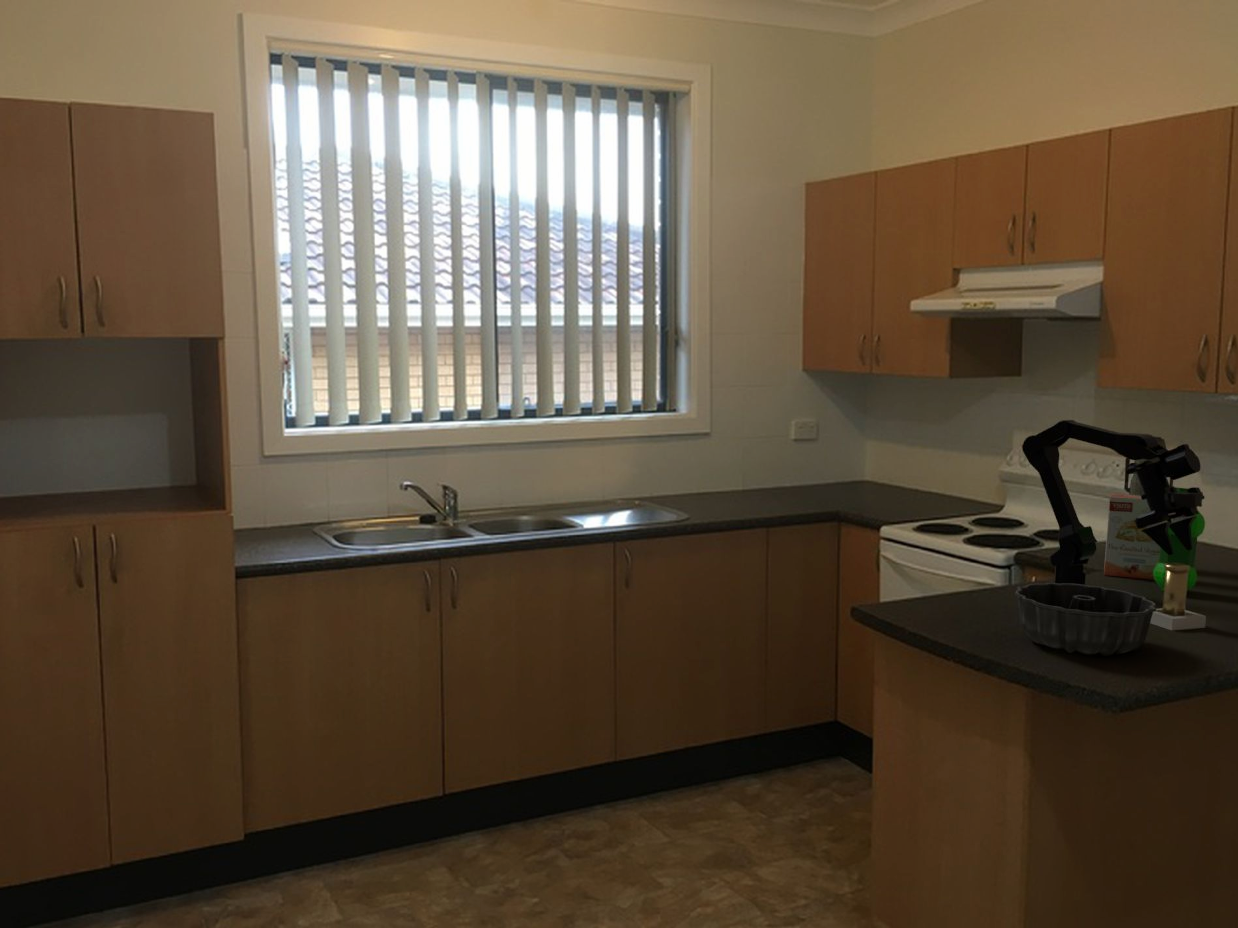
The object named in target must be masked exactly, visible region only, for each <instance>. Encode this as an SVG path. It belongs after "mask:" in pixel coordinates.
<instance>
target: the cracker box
mask: <svg viewBox="0 0 1238 928" xmlns="http://www.w3.org/2000/svg"><path fill="white" fill-rule="evenodd" d="M1148 512H1151V511H1150V509H1149V506H1148V503H1147V501H1146V499H1145V500H1142V498H1141V496H1137V495H1130V494H1120V493H1119V494H1118V493H1109V504H1108V514H1107V515H1108V516H1107V529H1106V538H1105V539H1106V542H1105V555H1104V567H1103V575H1104V576H1107V577H1108V576H1109V577H1110V576H1111V577H1121V578H1131V579H1139V580H1141V579H1142V580H1151V581H1155V580H1154V576H1153V570H1154V568H1155V566H1156V565H1157V563H1158V562H1159V555H1160V546H1159V545H1158V544H1157V543H1156V542H1154V541H1153V540H1152V539H1151V538H1150V537H1149V536H1148V535H1147V534H1146V533H1144V532H1142V530H1143V529H1147V527H1145V528H1141V529H1137V526H1136V523H1135V520H1136V518H1137V516H1140V515H1143V514H1146V513H1148Z"/></svg>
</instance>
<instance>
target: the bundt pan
mask: <svg viewBox="0 0 1238 928" xmlns="http://www.w3.org/2000/svg"><path fill="white" fill-rule="evenodd" d="M1014 595H1015V596H1016V597H1017V605H1018V613H1019V623H1020V626H1021V629H1022V630H1023V632H1024V633H1025V634H1026V635H1027V636H1029V638H1030V639H1031V640H1032V641H1033V642H1034V643H1037V644H1039V645H1042V646H1047V647H1049V648H1051V649H1054V650H1061V649H1064V650H1065V651H1066V652H1067V653H1068V654H1072V653H1074V652H1076V651H1077V652H1079V653H1082V654H1084V655H1095V654H1099V655H1100V656H1103V657H1109V656H1111V655H1114V654H1115V655H1122V654H1125V653H1128V652H1133V651H1135V650H1137V649H1139V648H1141V646H1142V645H1143V644H1144V643H1145V642H1146V641H1145V640H1146V639H1147V636H1148V631H1149V629H1150V624H1151V623H1150V621H1151V618H1152V614H1153V612H1155V611H1156V609H1157V607H1156V603H1155V602H1154V601H1152V600H1149V599H1146V597H1145V596H1142V595H1136V594H1134V593H1131V592H1129V591H1126V590H1120V589H1114V588H1107V587H1103V586H1097V585H1096V586H1094V585H1088V584H1085V585H1081V584H1067V583H1064V584H1057V583H1055V582H1046V583H1029V584H1027V585H1024V586H1018V587H1017V588H1016V591H1015V593H1014Z"/></svg>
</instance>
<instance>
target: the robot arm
mask: <svg viewBox="0 0 1238 928" xmlns="http://www.w3.org/2000/svg"><path fill="white" fill-rule="evenodd" d="M1155 437H1156V436H1154V437H1153V435H1152V434H1148V433H1136V432H1134V433H1133V432H1132V433H1131V432H1118V431H1114V430H1109V429H1106V428H1102V427H1097V426H1093V425H1090V424H1086V423H1082V422H1078V421H1075V420H1073V419H1065V420H1064V419H1063V420H1060V421H1058V422H1057V423H1055V424H1053V425H1052V426H1050V427H1049V428H1046V429H1044V430H1042V431H1041V432H1038V433H1037V434H1035V435H1034V434H1033V435H1029V436H1028V437H1026V438H1025V439H1024V441H1023V443H1022V445H1021V449H1022V453H1023V454H1024V456H1025V457H1026V460H1027V461H1028V463H1029V465H1031V467H1033V469H1034V470H1036V471H1037V472H1038V474H1039V477H1040V480H1041V482H1042V485H1043V487H1044V489H1045V493H1046V496H1047V499H1048V501H1049V505H1050V506H1051V509H1052V511H1053V515H1054V516H1055V520H1056V522H1057V526H1058V545H1059V546H1058V547H1059V549H1058V550H1056V551H1055V552H1054V553H1053V554H1051V555H1050V557H1049V559H1050V563H1051V566H1054V567H1055V569H1054V570H1055V571H1054V583H1057V584H1064V583H1067V584H1081V585H1086V577H1087V576H1086V571H1085V570H1084V565H1088V562H1089V561H1090V559H1091V558H1092V557H1094V555H1095V553H1096V552H1097V543H1098V540H1097V539H1096V537H1095V535H1094V531H1093V528H1092V527H1091V526H1090V525H1087V526H1084V525H1083V524H1082V522H1080V520H1079V517H1078V515H1077V512H1076V509H1075V507H1074V505H1073V502H1072V499H1071V497H1070V493H1069V491H1068V489H1067V486H1066V483H1065V480H1064V478H1063V475H1062V472H1061V470H1060V466H1059V463H1060V451H1059V448H1060V447H1062V446H1063V445H1064V444H1065V443H1067V442H1068V440H1069V439H1073V440H1077V441H1081V442H1085V443H1087V444H1092V445H1094V446H1095V445H1096V446H1099V447H1103V448H1106V449H1107V448H1108V449H1110V450H1111V451H1112V450H1113V451H1114V452H1115V453H1116V454H1117V455H1120V456H1122V457H1124V458H1125V459H1126V458H1128V459H1130V461H1131V460H1132V461H1135V460H1141V459H1147V460H1151V459H1159V460H1160V461H1158V462H1155V463H1153V462H1151V461H1145V462H1142V463H1140V464H1137V463H1134V462H1130V466H1129V468H1128V469H1127V471H1126V474H1127V475H1128V474H1129V475H1134V474H1135V473H1136V474H1137V477H1138V480H1139V482H1140V485H1141V488H1142V490H1143V493H1144V495H1142V496H1141V498H1142V500H1145V499H1146V501H1147V503H1148V506H1149V509H1150V511H1151V512H1148V513H1146V514H1143V515H1140V516H1137V518H1136V520H1135V523H1136V526H1137V529H1141V528H1145V527H1147V529H1143V530H1142V532H1144V533H1146V534H1147V535H1148V536H1149V537H1150V538H1151V539H1152V540H1153V541H1154V542H1156V543H1157V544H1158V545H1159V546H1160V547H1161V548H1162V549H1163V550H1164V551H1165V552H1166V553H1167V554H1168V555H1172V554H1174V553H1173V547H1172V543H1171V540H1170V536H1169V532H1168V529H1169V527H1170V529H1171V530H1172V531H1173V533H1174V534H1175V535H1176V537H1177V538H1178V539H1179V541H1180V542H1181V543H1182V545H1183V546H1184V547H1185V548H1186V550H1188V551H1189V550H1192V533H1191V526H1192V523H1193V522H1194V520H1195V519H1196V518H1197V516H1194V517H1191V516H1193V515H1197V514H1199V512H1200V511H1199V510H1198V507H1199V508H1201V507H1203V500H1205V498H1206V497H1205V495H1204V494H1203V493H1204V492H1202V491H1201V488H1200V487H1195V486H1194V487H1193V486H1192V487H1189V488H1187V489H1188V491H1187V492H1177V490H1176V488H1175V486H1174V485H1173V486H1172V487H1170V482H1169V481H1168V478H1169V479H1170V478H1171V479H1172V480H1173V481H1176V480H1179V479H1182V478H1184V477H1185V478H1186V477H1188V476H1190V475H1193V474H1197V473H1199V472H1200V471H1201V467H1202V466H1201V462H1200V459H1199V457H1198V455H1196V453H1195V451H1193V450H1192V448H1190V445H1189V444H1188V443H1183V444H1180V445H1178V446H1177V447H1174V448H1172V449H1169V450H1168V449H1167V447H1166V448H1164V447H1163V446H1161V445H1160V444H1158V443H1157V441H1156V439H1155ZM1198 511H1199V512H1198ZM1166 521H1168V522H1166ZM1171 522H1172V523H1171Z"/></svg>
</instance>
